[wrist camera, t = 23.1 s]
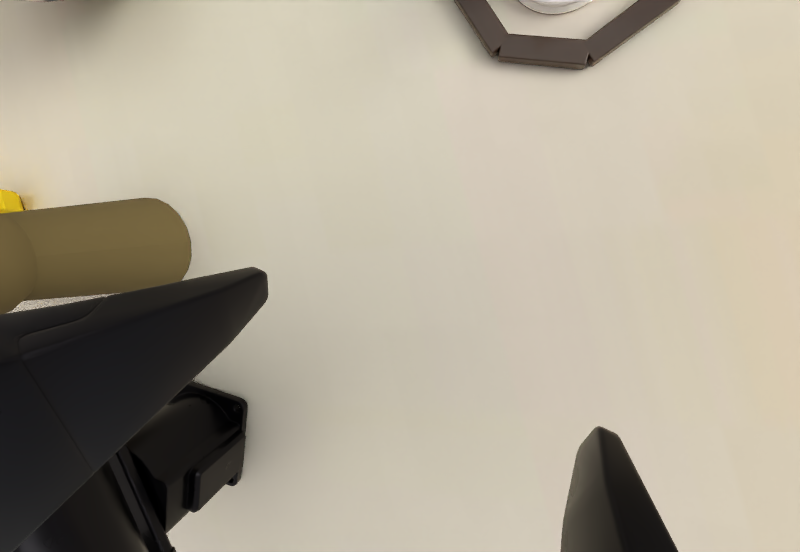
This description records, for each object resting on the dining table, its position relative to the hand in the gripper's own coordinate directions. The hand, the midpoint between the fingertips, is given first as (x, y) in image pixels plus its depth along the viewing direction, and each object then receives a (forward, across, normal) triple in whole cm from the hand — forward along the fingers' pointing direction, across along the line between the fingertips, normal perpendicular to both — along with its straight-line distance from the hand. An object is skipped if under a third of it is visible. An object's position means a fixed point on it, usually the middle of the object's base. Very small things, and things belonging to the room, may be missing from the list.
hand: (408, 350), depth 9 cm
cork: (+7, +20, +8) cm, 23 cm away
